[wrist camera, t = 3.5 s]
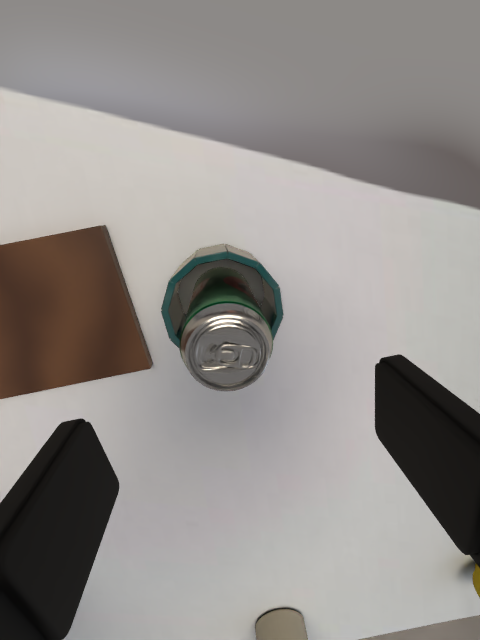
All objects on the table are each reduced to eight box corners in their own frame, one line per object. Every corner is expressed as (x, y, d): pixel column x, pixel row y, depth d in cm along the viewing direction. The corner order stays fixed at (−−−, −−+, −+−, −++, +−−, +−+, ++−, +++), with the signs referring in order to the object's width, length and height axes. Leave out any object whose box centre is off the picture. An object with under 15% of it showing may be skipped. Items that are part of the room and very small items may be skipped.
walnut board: (-52, 405, 27) (-62, 412, 26) (-143, 273, 22) (-160, 276, 21) (152, 363, 27) (150, 368, 26) (105, 225, 22) (100, 225, 21)
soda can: (196, 262, 24) (180, 301, 13) (253, 270, 25) (286, 314, 13) (191, 316, 26) (173, 394, 14) (244, 322, 26) (267, 401, 15)
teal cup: (186, 345, 26) (180, 375, 21) (162, 255, 23) (147, 266, 18) (274, 327, 27) (288, 353, 22) (260, 236, 24) (273, 241, 18)
